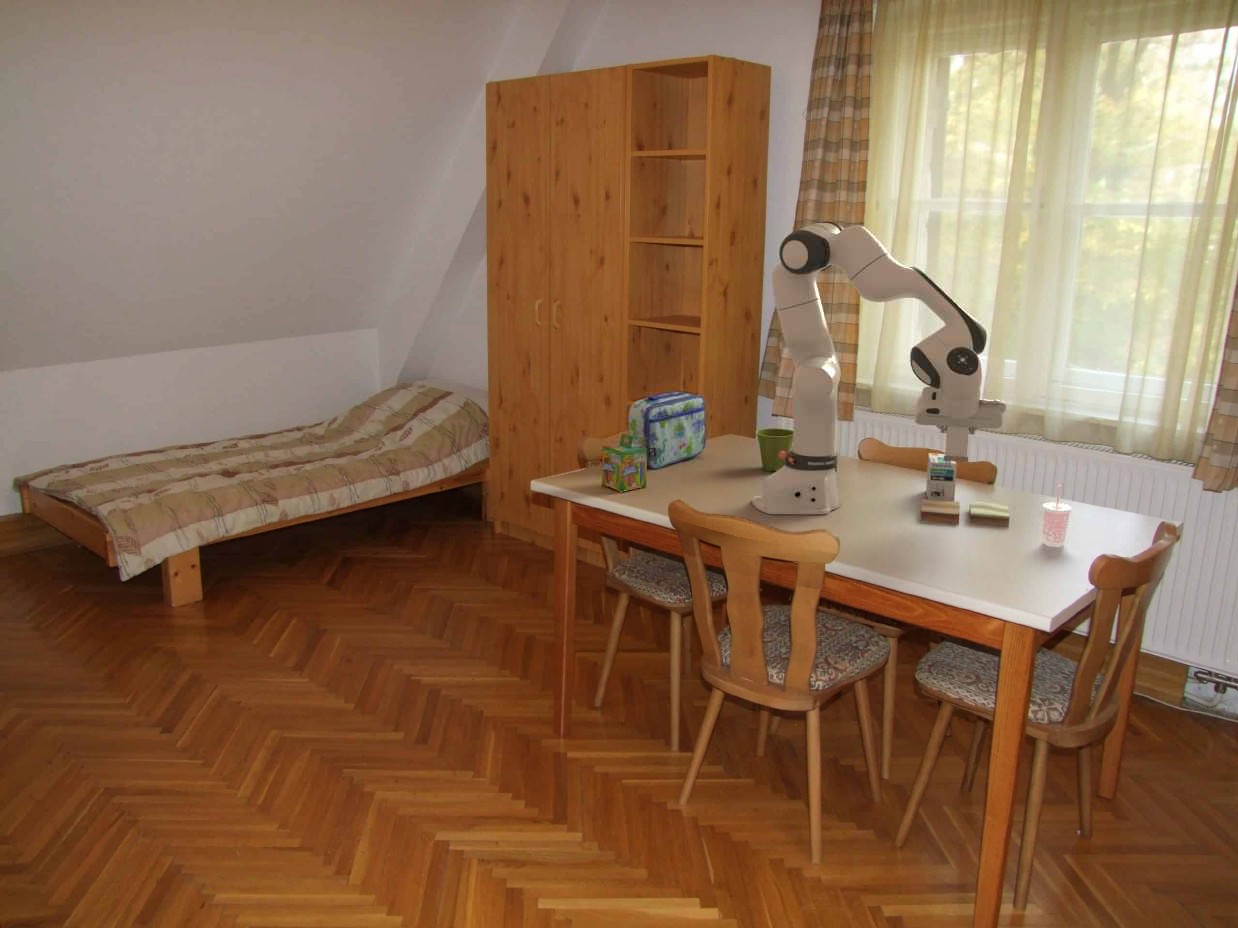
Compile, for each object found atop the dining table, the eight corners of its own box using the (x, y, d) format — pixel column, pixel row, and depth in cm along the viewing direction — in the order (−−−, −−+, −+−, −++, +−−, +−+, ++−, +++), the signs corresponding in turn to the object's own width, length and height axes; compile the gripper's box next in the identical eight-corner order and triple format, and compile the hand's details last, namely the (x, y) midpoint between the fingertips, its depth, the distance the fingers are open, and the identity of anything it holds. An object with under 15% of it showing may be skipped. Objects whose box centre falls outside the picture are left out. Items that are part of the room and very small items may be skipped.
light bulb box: (954, 503, 272) (957, 463, 270) (928, 501, 274) (931, 462, 271) (950, 492, 282) (953, 453, 280) (924, 490, 284) (927, 452, 281)
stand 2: (1008, 526, 253) (1009, 516, 252) (969, 523, 256) (970, 513, 255) (1006, 513, 263) (1007, 503, 263) (969, 510, 266) (970, 501, 265)
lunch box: (649, 472, 303) (649, 402, 298) (624, 466, 311) (623, 397, 306) (709, 457, 320) (710, 390, 315) (684, 451, 328) (685, 386, 323)
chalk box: (601, 486, 290) (600, 434, 286) (627, 480, 295) (626, 430, 291) (621, 493, 283) (621, 440, 279) (647, 487, 288) (647, 435, 284)
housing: (967, 461, 250) (970, 419, 250) (943, 460, 252) (946, 418, 252) (967, 461, 258) (970, 420, 257) (944, 460, 259) (946, 419, 259)
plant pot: (801, 467, 308) (802, 430, 305) (785, 476, 298) (786, 438, 296) (764, 462, 314) (765, 426, 311) (747, 471, 305) (748, 433, 302)
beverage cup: (1053, 549, 237) (1059, 490, 233) (1033, 541, 242) (1039, 483, 239) (1073, 545, 239) (1080, 487, 236) (1053, 537, 245) (1059, 480, 241)
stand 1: (958, 524, 255) (959, 514, 254) (920, 520, 258) (921, 511, 257) (958, 511, 265) (959, 501, 264) (922, 508, 268) (922, 499, 267)
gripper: (1007, 390, 243) (1002, 422, 254) (916, 387, 249) (916, 418, 260) (1006, 412, 240) (1002, 444, 251) (914, 409, 246) (914, 440, 257)
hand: (957, 431), depth 256 cm, fingers closed on housing, 5 cm apart
